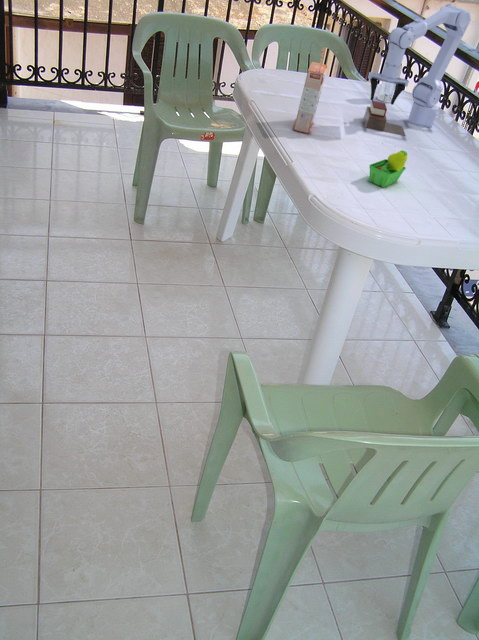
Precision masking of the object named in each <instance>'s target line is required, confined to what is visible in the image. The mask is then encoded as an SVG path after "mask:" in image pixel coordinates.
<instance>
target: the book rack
mask: <svg viewBox="0 0 479 640" xmlns="http://www.w3.org/2000/svg"><path fill="white" fill-rule="evenodd" d="M363 120H364V125H365V126H364V127H365V128H366V129H369V130H372V131H373V130H374V131H379V132H382V133H387V134H393V135H397V136H402V137H407V136H406V132H405V129H404V127H403V125H401V124H400V125H398V124H394V123H390V122H387V121H388V118H387V115H386V114H385V117H380V116H375V115H371V112H370V106H366V108H365V112H364V116H363Z"/></svg>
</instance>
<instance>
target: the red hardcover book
mask: <svg viewBox="0 0 479 640" xmlns="http://www.w3.org/2000/svg"><path fill="white" fill-rule="evenodd" d="M369 107H370V112H371V115H375V116H380V117H385V115H386V114H387V112H388V107H387V105H386V102H383V101H376V100H373V101H372V100H371V102H370V105H369Z"/></svg>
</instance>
